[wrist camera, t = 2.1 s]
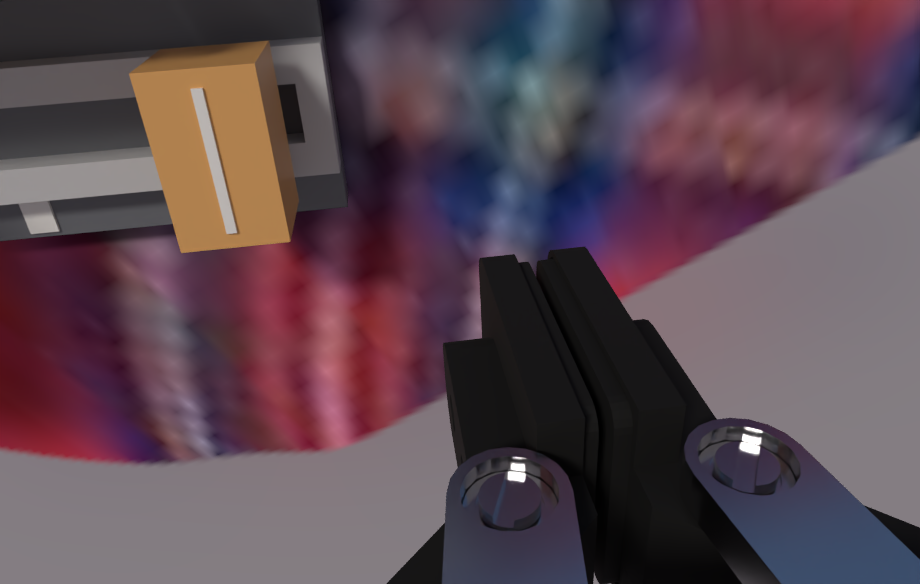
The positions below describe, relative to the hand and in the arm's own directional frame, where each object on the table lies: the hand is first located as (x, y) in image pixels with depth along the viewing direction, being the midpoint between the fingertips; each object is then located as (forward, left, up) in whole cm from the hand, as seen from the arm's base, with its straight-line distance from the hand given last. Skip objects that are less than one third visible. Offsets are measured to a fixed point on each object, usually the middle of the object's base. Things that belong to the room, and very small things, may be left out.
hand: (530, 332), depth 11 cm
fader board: (+12, 0, -17) cm, 20 cm away
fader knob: (+7, 0, -15) cm, 17 cm away
